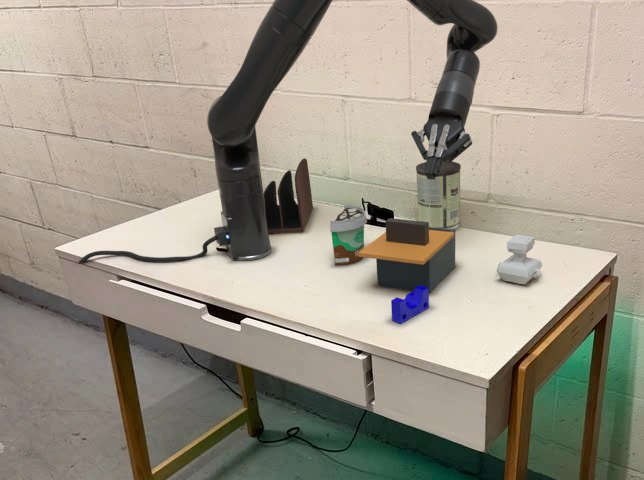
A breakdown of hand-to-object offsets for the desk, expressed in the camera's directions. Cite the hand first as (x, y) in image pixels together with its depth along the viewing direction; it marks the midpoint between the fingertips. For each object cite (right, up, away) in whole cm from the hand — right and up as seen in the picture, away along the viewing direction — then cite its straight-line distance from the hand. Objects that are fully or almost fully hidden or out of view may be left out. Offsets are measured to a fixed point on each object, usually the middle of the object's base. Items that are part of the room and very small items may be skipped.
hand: (430, 177), depth 136 cm
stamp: (+17, -20, -1) cm, 27 cm away
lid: (-5, -14, -4) cm, 16 cm away
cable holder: (-5, -28, -12) cm, 30 cm away
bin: (-2, -19, +3) cm, 19 cm away
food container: (-15, -14, +14) cm, 25 cm away
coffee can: (+4, -4, +31) cm, 31 cm away
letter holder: (-33, -1, +39) cm, 51 cm away
